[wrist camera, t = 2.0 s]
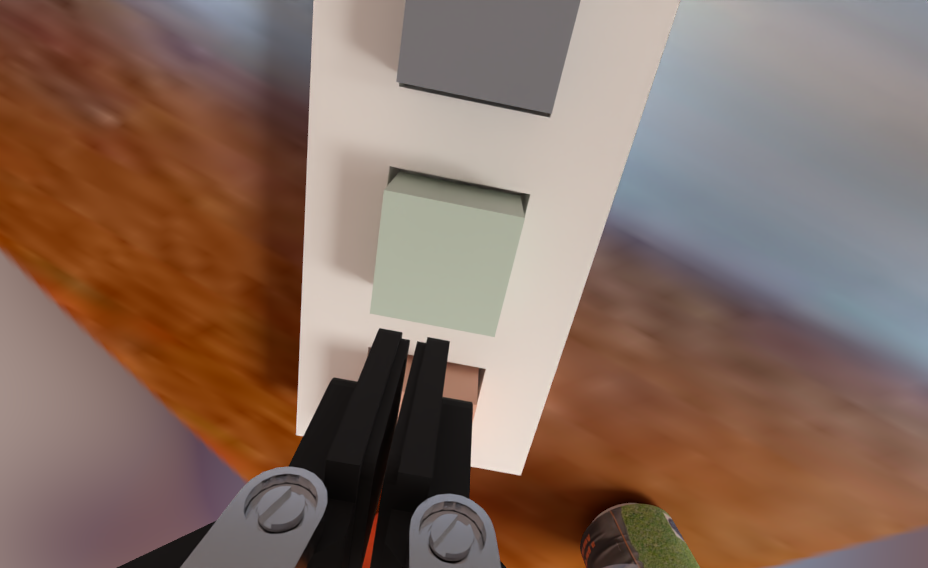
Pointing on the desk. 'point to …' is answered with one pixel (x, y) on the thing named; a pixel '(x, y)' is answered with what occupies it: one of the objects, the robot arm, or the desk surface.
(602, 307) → the desk surface
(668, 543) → the beverage can
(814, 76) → the desk surface
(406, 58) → the charcoal button
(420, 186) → the sage button
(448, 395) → the terracotta button
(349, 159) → the panel
